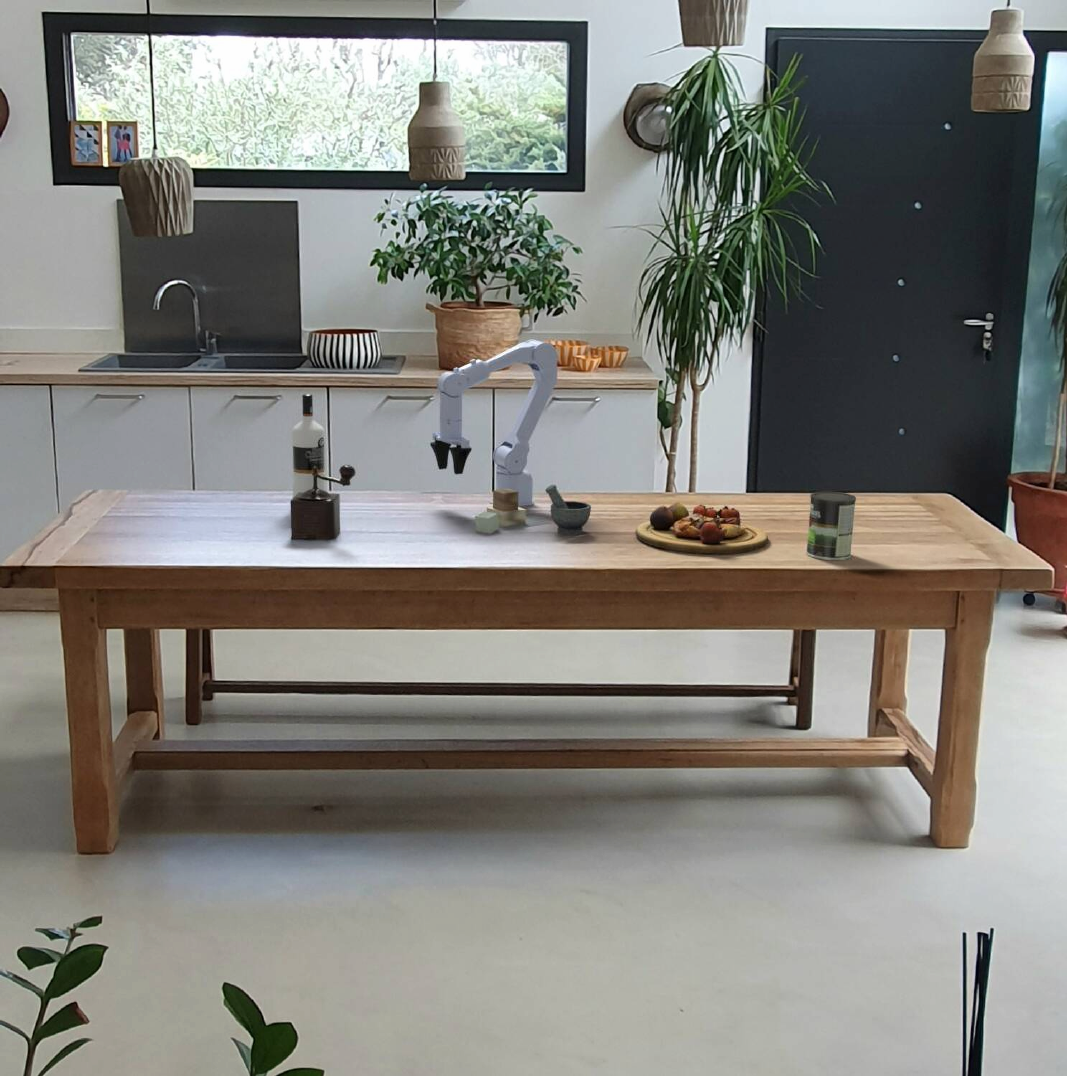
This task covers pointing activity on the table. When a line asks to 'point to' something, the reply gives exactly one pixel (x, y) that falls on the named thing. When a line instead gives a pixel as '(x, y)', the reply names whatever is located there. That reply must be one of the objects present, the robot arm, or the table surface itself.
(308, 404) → the vodka
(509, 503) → the walnut cube
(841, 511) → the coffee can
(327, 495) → the manual coffee grinder
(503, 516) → the beech block
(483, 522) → the sage block
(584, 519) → the mortar and pestle
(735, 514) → the wooden plate with food
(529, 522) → the slate mat
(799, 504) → the table surface
